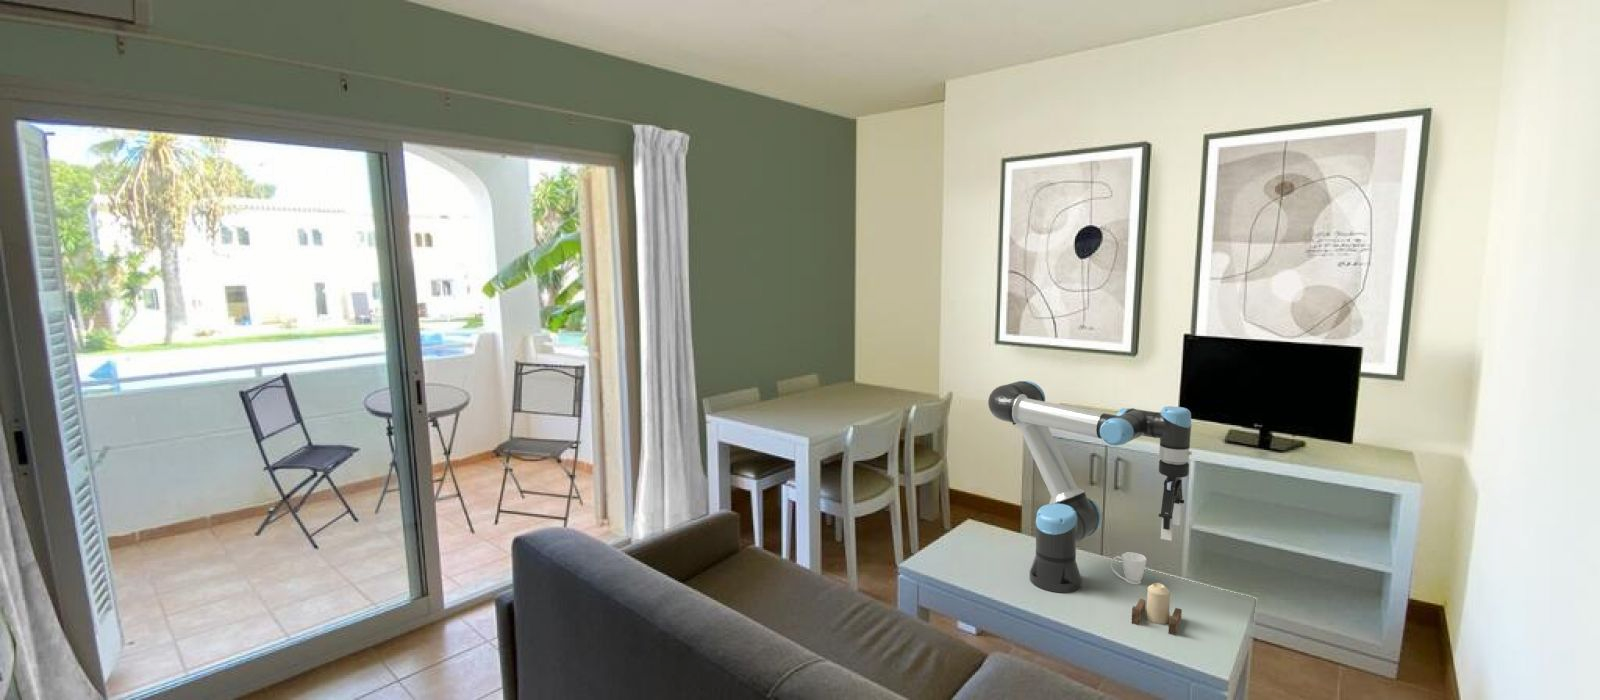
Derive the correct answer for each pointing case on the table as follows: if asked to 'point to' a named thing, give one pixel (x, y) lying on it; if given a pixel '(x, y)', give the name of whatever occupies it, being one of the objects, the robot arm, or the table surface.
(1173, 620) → the wooden stepped bars
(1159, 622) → the candle
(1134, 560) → the cup
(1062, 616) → the table surface
